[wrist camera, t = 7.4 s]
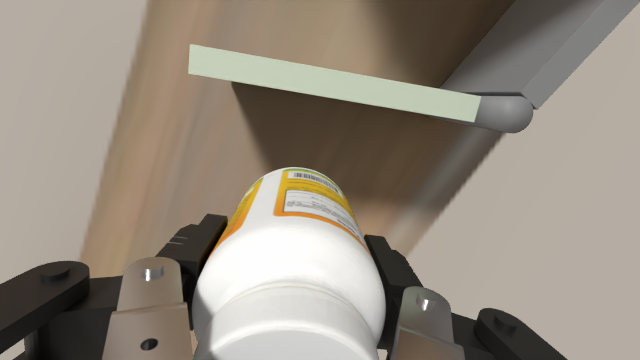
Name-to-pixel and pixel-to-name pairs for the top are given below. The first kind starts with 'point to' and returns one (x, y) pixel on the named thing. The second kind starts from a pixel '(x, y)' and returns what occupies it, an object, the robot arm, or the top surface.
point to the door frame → (531, 57)
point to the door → (331, 83)
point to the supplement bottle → (290, 278)
